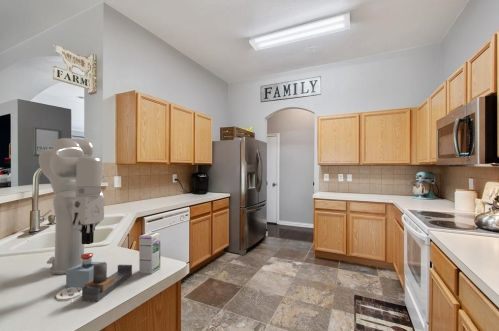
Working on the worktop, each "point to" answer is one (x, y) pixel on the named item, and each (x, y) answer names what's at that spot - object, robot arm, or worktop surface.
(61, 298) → the pendant
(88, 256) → the plunger
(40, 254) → the worktop surface
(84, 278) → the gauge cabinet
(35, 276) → the worktop surface
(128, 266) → the rail
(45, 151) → the robot arm
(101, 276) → the carriage
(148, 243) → the syrup box
